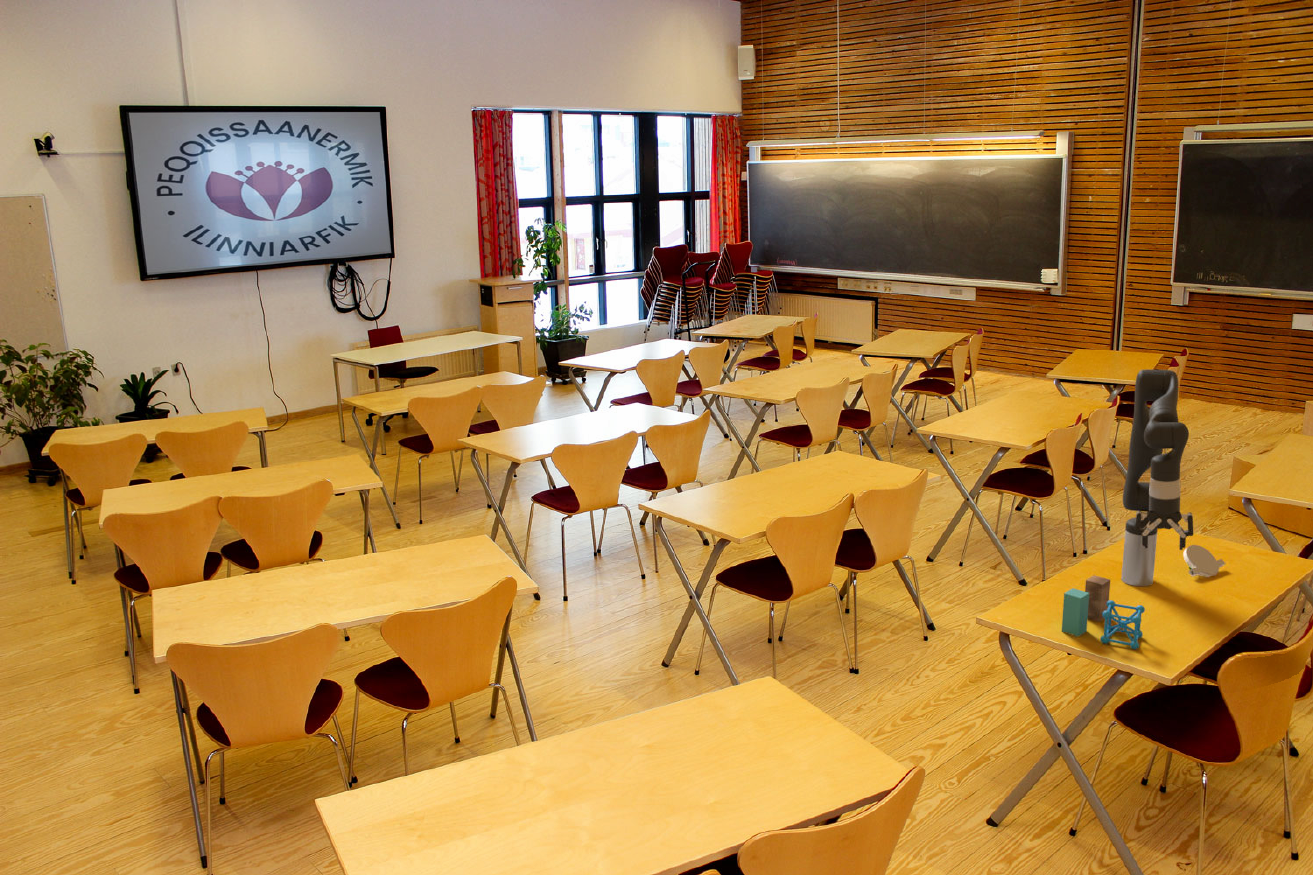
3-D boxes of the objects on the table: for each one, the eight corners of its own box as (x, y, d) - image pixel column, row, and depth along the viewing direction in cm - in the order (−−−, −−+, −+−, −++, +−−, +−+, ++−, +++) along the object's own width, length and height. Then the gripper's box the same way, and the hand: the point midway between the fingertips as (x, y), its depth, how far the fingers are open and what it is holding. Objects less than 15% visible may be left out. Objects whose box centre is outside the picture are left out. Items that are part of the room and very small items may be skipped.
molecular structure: (1138, 651, 279) (1141, 618, 276) (1099, 643, 284) (1101, 611, 282) (1142, 636, 287) (1145, 604, 285) (1105, 629, 292) (1107, 598, 290)
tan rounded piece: (1200, 580, 320) (1186, 547, 323) (1180, 585, 327) (1166, 552, 330) (1230, 570, 327) (1216, 537, 329) (1209, 575, 334) (1196, 543, 336)
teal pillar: (1061, 631, 293) (1064, 593, 290) (1070, 625, 296) (1072, 588, 293) (1078, 636, 289) (1080, 598, 286) (1086, 630, 292) (1089, 592, 289)
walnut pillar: (1083, 617, 301) (1085, 580, 298) (1091, 611, 304) (1093, 575, 301) (1099, 622, 297) (1102, 584, 294) (1107, 616, 300) (1110, 579, 297)
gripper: (1193, 489, 272) (1192, 544, 276) (1135, 487, 278) (1134, 541, 283) (1195, 499, 265) (1193, 555, 270) (1135, 497, 271) (1134, 552, 276)
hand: (1163, 548), depth 276 cm, fingers open, 8 cm apart
